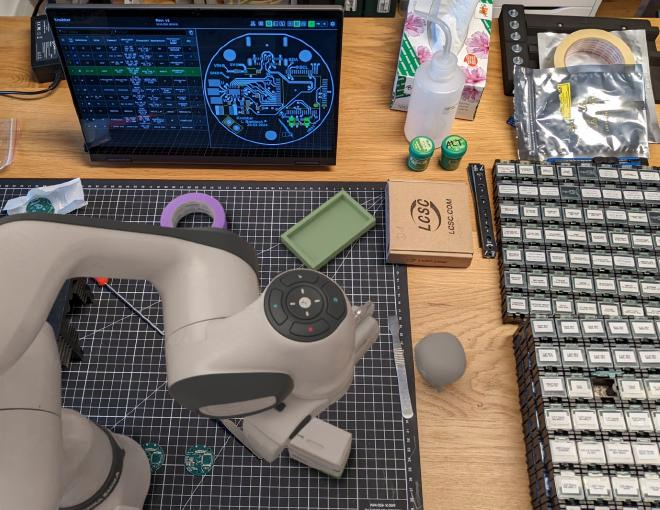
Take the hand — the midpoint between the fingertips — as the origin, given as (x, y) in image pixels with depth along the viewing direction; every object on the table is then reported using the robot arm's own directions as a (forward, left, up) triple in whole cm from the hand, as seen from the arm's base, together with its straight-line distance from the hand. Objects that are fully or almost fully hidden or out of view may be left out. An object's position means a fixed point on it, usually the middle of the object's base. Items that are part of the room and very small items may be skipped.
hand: (318, 399), depth 78 cm
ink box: (-1, -2, -22) cm, 22 cm away
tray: (+27, +27, -22) cm, 44 cm away
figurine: (+21, -5, -22) cm, 30 cm away
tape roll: (+9, +44, -22) cm, 50 cm away
